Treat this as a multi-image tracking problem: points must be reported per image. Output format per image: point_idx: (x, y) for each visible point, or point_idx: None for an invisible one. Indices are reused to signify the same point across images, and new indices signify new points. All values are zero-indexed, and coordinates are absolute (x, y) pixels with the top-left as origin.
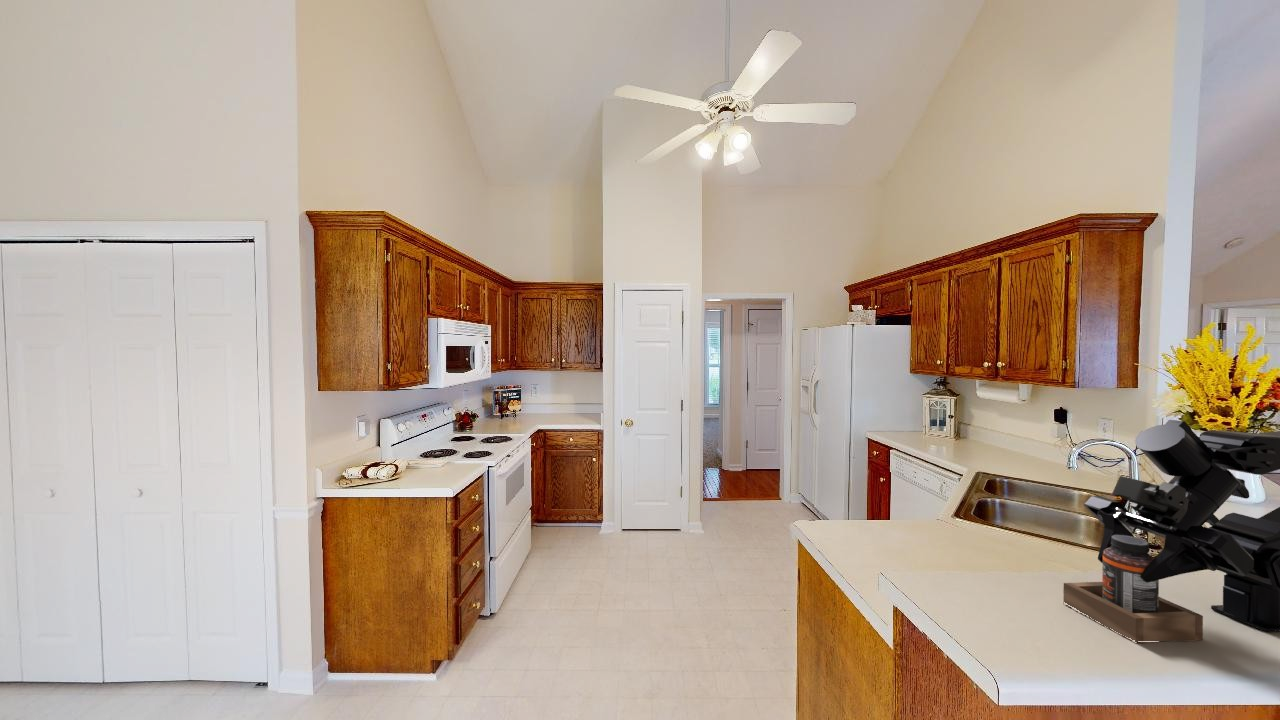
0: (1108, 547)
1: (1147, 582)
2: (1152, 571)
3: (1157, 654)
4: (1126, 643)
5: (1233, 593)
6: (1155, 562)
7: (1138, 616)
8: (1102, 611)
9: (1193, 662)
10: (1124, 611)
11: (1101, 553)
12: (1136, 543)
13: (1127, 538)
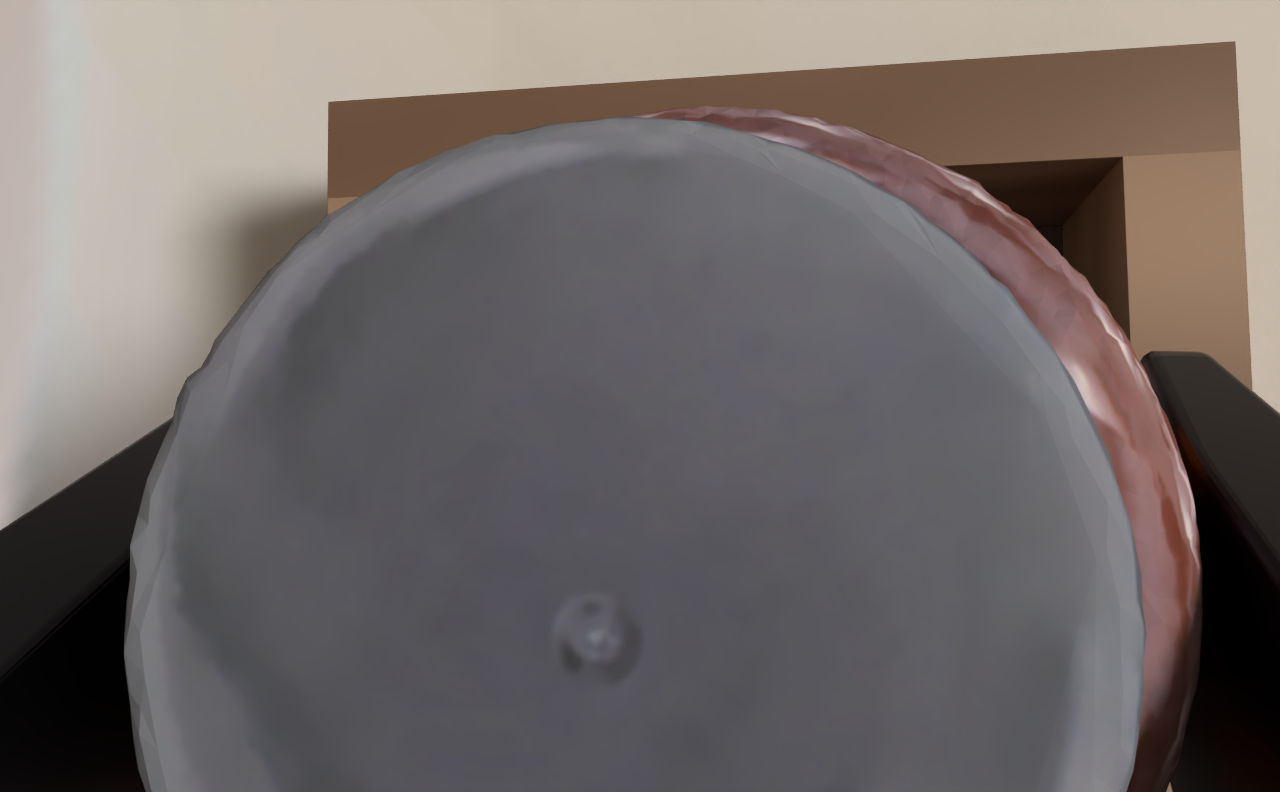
0: (1257, 596)
1: None
2: None
3: (276, 198)
4: (434, 94)
5: None
6: (58, 530)
7: (360, 174)
8: None
9: (162, 380)
10: (466, 124)
11: (1222, 418)
12: (236, 453)
13: (675, 628)
